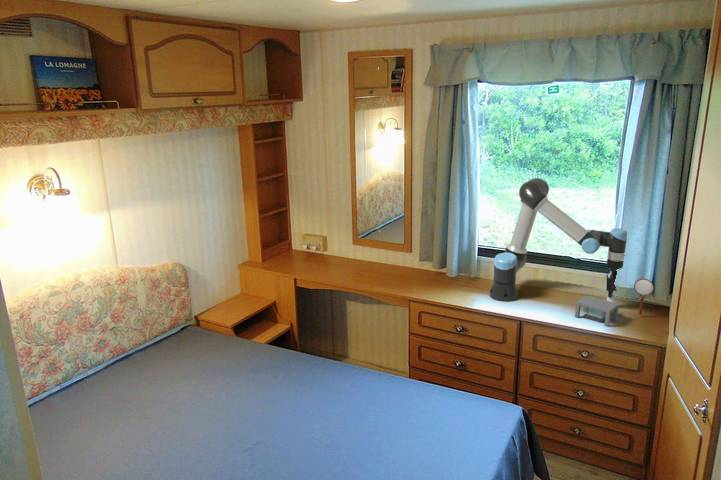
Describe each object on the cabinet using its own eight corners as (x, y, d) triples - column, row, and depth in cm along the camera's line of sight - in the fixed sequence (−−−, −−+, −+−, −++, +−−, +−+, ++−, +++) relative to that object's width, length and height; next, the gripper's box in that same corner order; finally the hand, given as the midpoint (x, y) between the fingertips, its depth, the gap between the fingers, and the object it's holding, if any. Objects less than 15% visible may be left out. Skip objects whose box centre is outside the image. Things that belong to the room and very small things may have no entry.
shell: (596, 310, 269) (597, 299, 267) (610, 314, 264) (612, 303, 263) (586, 318, 261) (588, 306, 259) (601, 322, 256) (602, 310, 255)
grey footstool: (574, 317, 262) (576, 301, 260) (584, 310, 270) (586, 295, 268) (607, 326, 252) (609, 310, 249) (617, 319, 259) (619, 303, 257)
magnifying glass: (649, 317, 260) (655, 279, 254) (649, 319, 258) (655, 280, 253) (630, 314, 264) (635, 276, 259) (629, 315, 263) (635, 277, 257)
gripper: (618, 264, 259) (612, 308, 266) (628, 257, 268) (622, 300, 274) (602, 260, 264) (597, 304, 271) (613, 254, 273) (607, 296, 280)
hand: (609, 302), depth 273 cm, fingers closed
